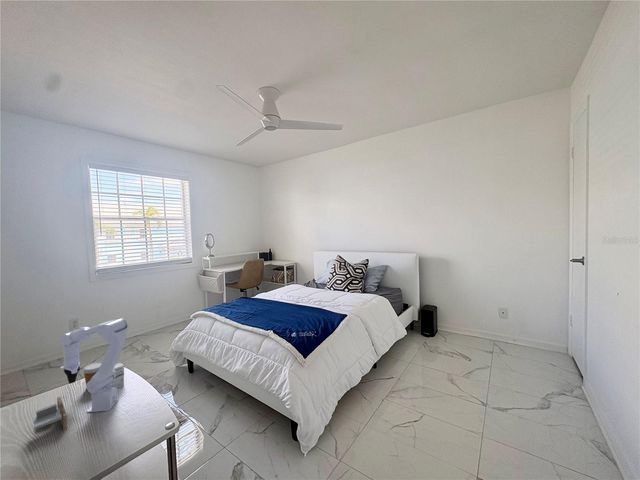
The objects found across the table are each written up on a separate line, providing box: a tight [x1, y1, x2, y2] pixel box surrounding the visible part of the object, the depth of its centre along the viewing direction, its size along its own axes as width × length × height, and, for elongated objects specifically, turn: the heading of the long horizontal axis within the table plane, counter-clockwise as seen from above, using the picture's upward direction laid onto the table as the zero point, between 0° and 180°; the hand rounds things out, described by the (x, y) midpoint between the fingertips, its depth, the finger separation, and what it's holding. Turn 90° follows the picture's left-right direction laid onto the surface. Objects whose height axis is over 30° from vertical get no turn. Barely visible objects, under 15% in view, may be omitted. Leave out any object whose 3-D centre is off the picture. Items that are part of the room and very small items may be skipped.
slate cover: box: [32, 403, 62, 430], centre depth 111 cm, size 8×8×4 cm
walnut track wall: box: [56, 395, 68, 431], centre depth 119 cm, size 20×1×6 cm, turn 51°
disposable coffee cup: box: [82, 361, 103, 388], centre depth 143 cm, size 10×10×12 cm
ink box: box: [111, 362, 125, 389], centre depth 143 cm, size 9×5×12 cm, turn 143°
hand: (72, 382), depth 130 cm, fingers closed
